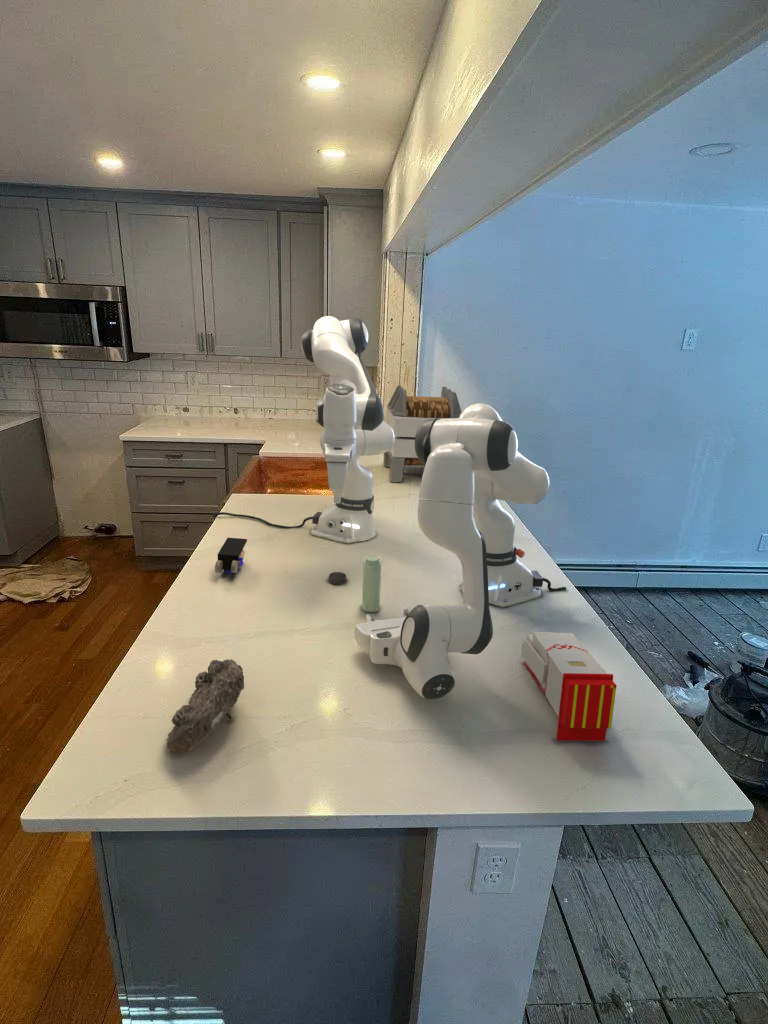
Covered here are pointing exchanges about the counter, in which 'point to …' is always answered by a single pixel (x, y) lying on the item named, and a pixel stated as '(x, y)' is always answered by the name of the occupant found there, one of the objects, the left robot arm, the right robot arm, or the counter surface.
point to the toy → (571, 685)
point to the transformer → (413, 425)
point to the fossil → (206, 705)
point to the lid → (337, 578)
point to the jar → (371, 583)
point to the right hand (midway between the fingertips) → (387, 614)
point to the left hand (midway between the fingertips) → (338, 497)
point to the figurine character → (230, 556)
